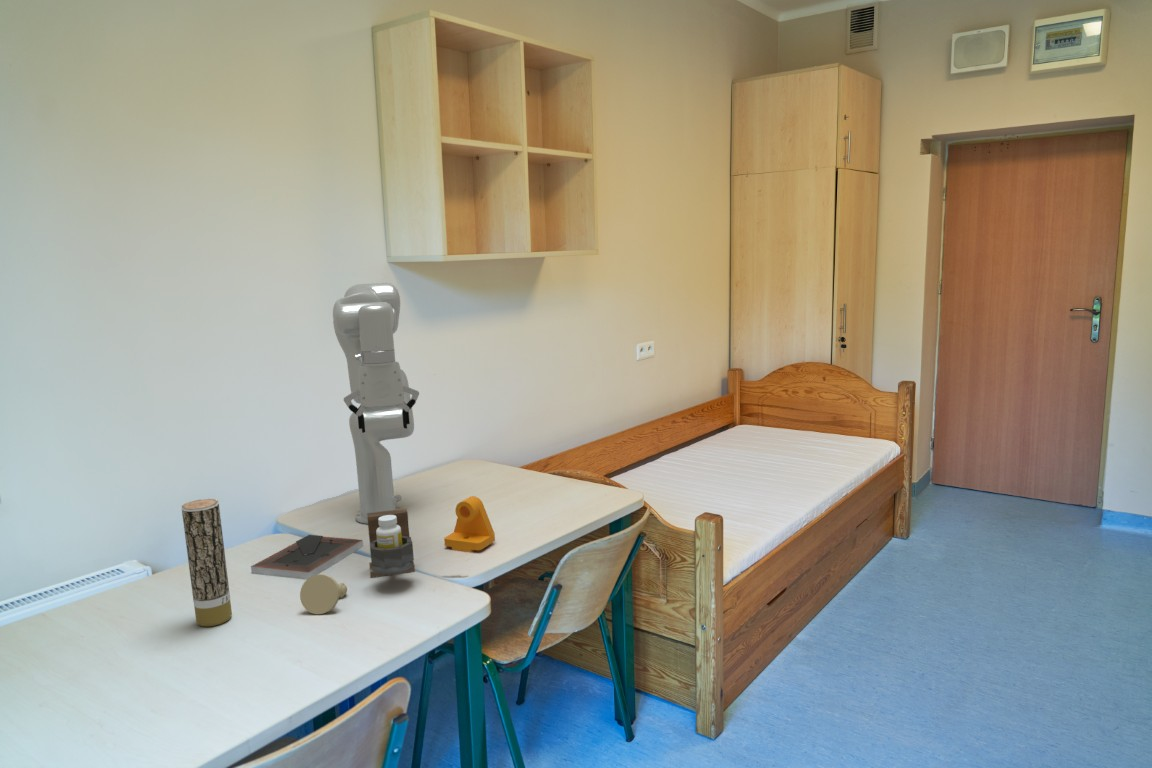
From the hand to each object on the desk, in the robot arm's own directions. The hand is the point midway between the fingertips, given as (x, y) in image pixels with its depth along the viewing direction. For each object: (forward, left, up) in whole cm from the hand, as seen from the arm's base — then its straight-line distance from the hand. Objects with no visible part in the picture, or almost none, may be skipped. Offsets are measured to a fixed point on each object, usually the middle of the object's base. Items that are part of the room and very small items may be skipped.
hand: (384, 429), depth 189 cm
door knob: (+26, -1, -33) cm, 42 cm away
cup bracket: (+11, +6, -32) cm, 35 cm away
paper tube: (+38, -20, -32) cm, 54 cm away
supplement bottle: (+14, +8, -26) cm, 31 cm away
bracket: (-12, +14, -33) cm, 37 cm away
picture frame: (+4, -22, -33) cm, 40 cm away
